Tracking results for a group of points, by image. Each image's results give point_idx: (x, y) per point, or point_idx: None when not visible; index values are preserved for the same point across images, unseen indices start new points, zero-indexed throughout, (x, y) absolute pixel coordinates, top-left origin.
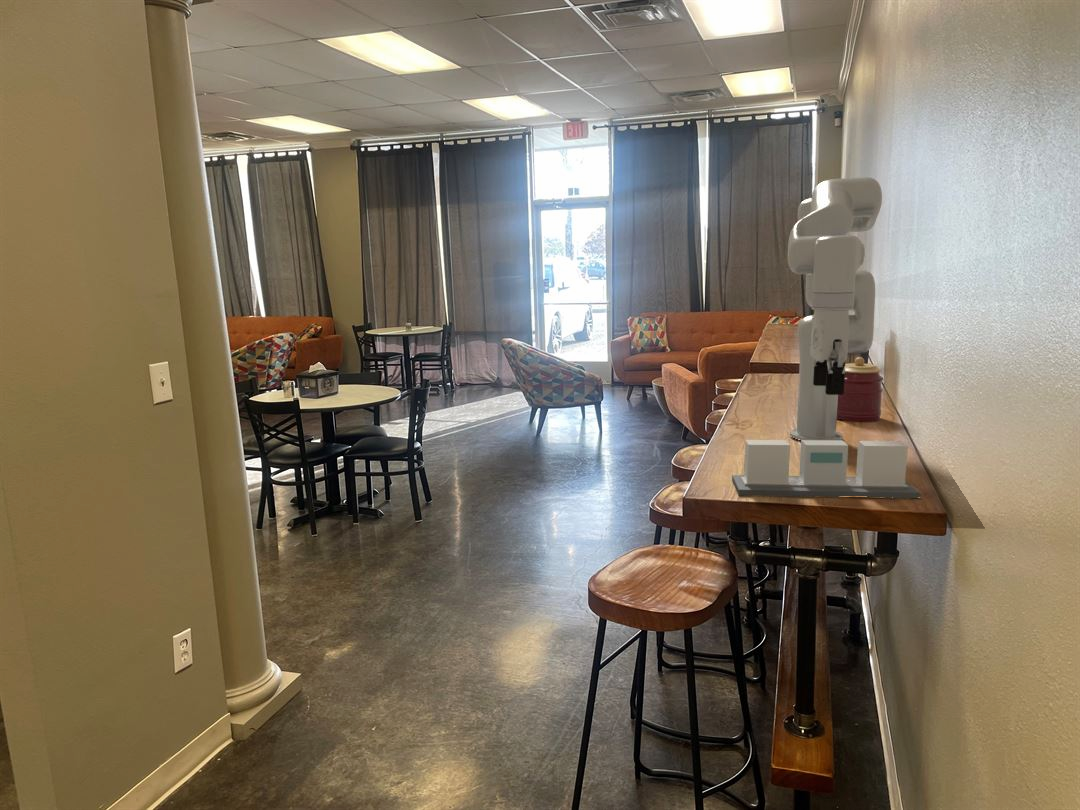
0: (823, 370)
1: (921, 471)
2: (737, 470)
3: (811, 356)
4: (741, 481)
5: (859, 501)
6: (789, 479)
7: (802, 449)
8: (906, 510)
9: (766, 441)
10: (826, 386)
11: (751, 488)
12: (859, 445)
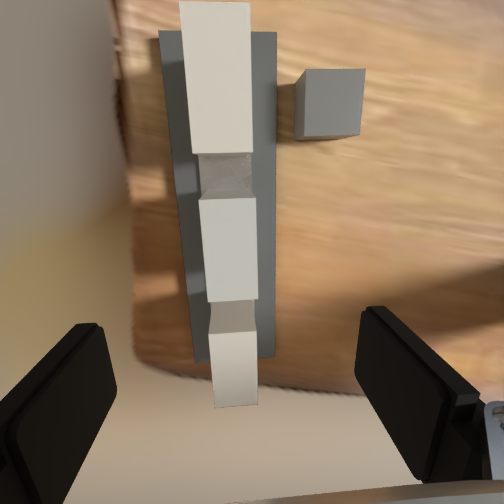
0: (410, 419)
1: (335, 387)
2: (355, 66)
3: (471, 496)
4: None
5: (167, 272)
6: (236, 165)
7: (234, 196)
8: (135, 326)
9: (231, 82)
10: (49, 351)
11: (172, 66)
12: (244, 326)
